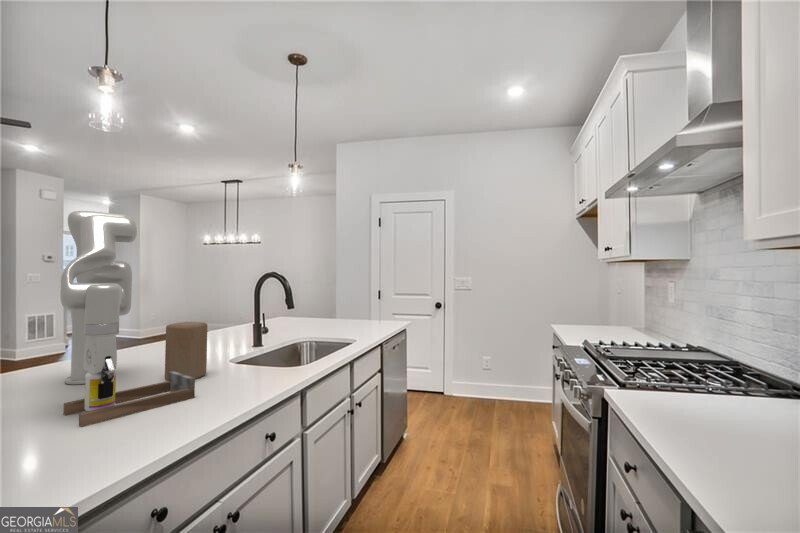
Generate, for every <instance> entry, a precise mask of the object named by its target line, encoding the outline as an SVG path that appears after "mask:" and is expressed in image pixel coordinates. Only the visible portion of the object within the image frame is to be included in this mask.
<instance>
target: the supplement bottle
mask: <svg viewBox="0 0 800 533" xmlns="http://www.w3.org/2000/svg"><path fill="white" fill-rule="evenodd" d="M103 371H107V369H106V370H102V372H103ZM105 375H106V374H103V378H104V376H105ZM116 376H117V372H116V370H115V373H114V377H113V378H114V382H113V396H112V397H108V398H103V399H98V384H100V380H99V372H98V373H97V374H92V373H90V372H87V373H86V375H85V384H84V399H85V402H84V408H85V410H86V411H85V412H88V411H92V410H97V409H101V408H105V407H109V406H114V405H116V404H115V392H116V386H117V385H116V383H117V382H116V379H117V378H116Z"/></svg>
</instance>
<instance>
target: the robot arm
mask: <svg viewBox="0 0 800 533" xmlns="http://www.w3.org/2000/svg"><path fill="white" fill-rule="evenodd" d="M67 226H68V230H69V233H70V235H71V236H72V239H73V241H74V244H75V247H76V254H75V255H76V257H75V258H74V259H72V260H71V261H70V262H69V263H68V264H67V265H66V267H64V270H63V271H62V272H61V273H62V274H61V277H60V292H59V293H60V294H59V295H60V303H61V305H62V307H63V308H65V309H66V310H70V316H71V317H70V318H71V352H70V355H71V356H70V358H71V359H70V360H71V361H70V376H68V377H66V378H65V379H64V383H65V384H67V385H85V375H86V373H87V372H90V373H92V374H97V373H98V372H99V380H100V384H98V399H103V398H108V397H112V396H113V382H114V378H113V377H114V373H115V371H116V369H117V364H118V362H117V361H118V351H117V350H118V349H117V348H118V347H117V337H116V336H117V335H120V317H121V316H126V315H128V314H129V313H130V311H131V307H132V295H133V294H132V293H133V290H132V286H133V271H132V267H131V264H130V263H128V262H127V261H123V260H116V257H117V252H116V243H133V242H135V240H136V238H137V232H138V231H137V224H136V222H135V220H134V218H132V217H131V216H130V215H128V214H121V213H114V212H113V213H112V212H103V211H93V210H89V211H88V210H76V211H72V212H70V213H69V214H68V216H67ZM75 279H76V280H75ZM74 280H75V281H76V282H74ZM106 369H107V371H103V372H102V370H106ZM103 374H106V375H105V376H104V378H103Z"/></svg>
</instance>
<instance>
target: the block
mask: <svg viewBox="0 0 800 533" xmlns="http://www.w3.org/2000/svg"><path fill="white" fill-rule="evenodd" d="M164 348H165V351H164V352H165V355H164V357H165V358H164V359H165V360H164V379H165V380H166V381H168V375H169V372H171V371H175V372H178V373H181V374H184V375H187V376H190V377H193V378H195V380H196V379H199V378H201V377H204V376H206V374H207V363H208V362H207V361H208V360H207V357H208V323H207V322H205V321H204V322H201V321H182V322H181V321H180V322H176V323H169V324H167V325H166V326H165V346H164Z"/></svg>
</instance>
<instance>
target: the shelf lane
mask: <svg viewBox="0 0 800 533" xmlns="http://www.w3.org/2000/svg"><path fill="white" fill-rule="evenodd" d="M195 387H196V379H195V378H193V377H190V376H187V375H184V374H181V373H178V372H175V371H171V372H169V375H168V380H166V381H163V382H156V383H153V384H149V385H143V386H137V387H134V388H129V389H124V390H120V391H115V405H114V406H109V407H105V408H101V409H97V410H92V411H86V410H85V408H84V402H85V398H82V399H77V400H72V401H67V402H64V403H63V409H62V410H63V414H62V415H63V416H68V415H74V414H78V426H79V427H80V428H83V427H87V426H90V424H91V425H93V424H98V423H102V422H106V421H109V419H110V420H114V419H116V418H117V417H118V418H121V416H122V417H125V416H129V415H133V414H136V413H141V412H144V411H148V410H152V409H156V408H159V407H163V406H167V405H171V404H175V403H179V402H183V401H186V400H190V399H194V398H195V394H196V393H195V392H196V390H195V389H196V388H195ZM113 418H114V419H113ZM118 418H117V419H118ZM105 420H106V421H105ZM101 421H102V422H101ZM86 425H87V426H86Z"/></svg>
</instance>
